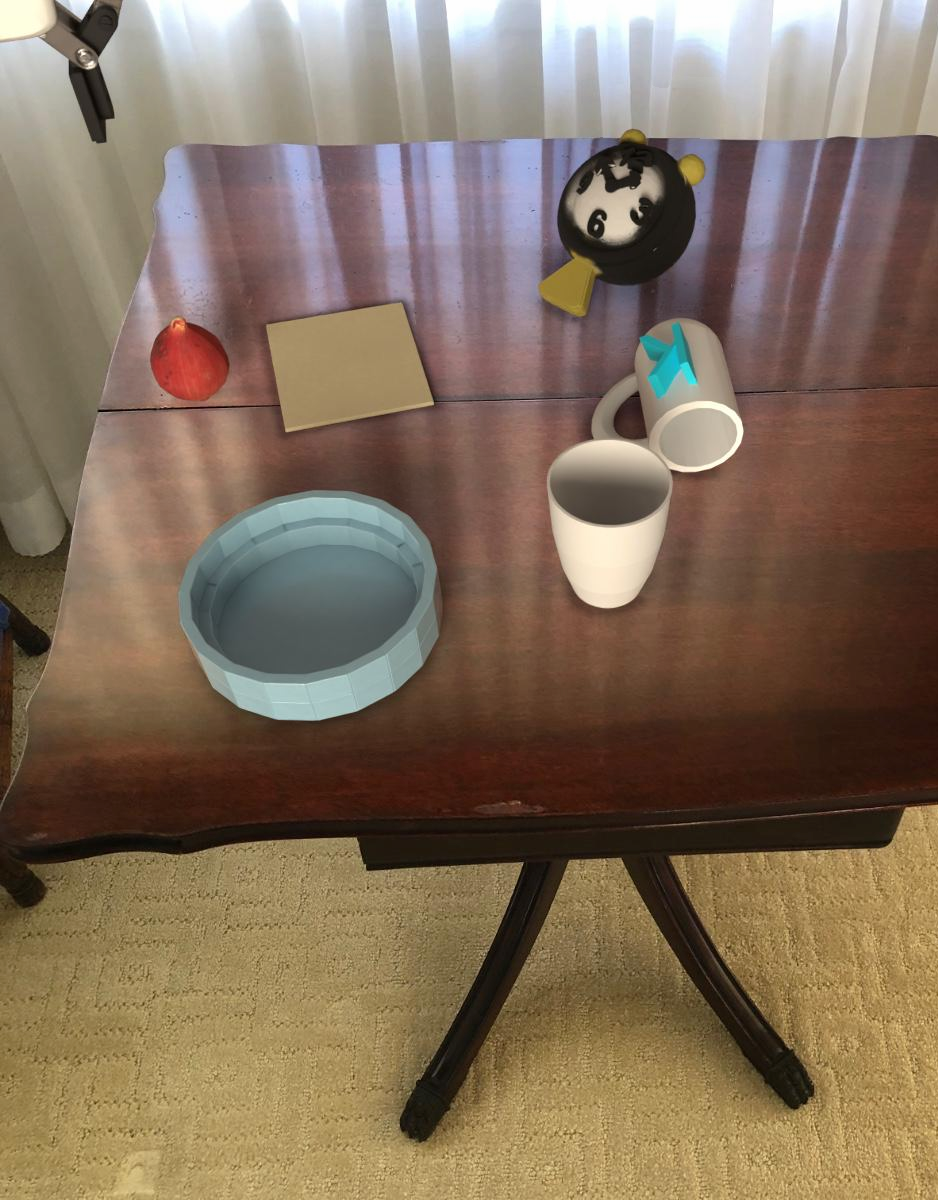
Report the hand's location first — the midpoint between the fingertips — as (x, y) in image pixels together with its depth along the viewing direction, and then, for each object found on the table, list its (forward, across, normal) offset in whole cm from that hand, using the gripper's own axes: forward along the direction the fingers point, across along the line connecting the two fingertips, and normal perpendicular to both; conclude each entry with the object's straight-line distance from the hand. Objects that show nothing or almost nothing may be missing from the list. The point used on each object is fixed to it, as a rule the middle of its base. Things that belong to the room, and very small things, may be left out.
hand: (9, 143), depth 61 cm
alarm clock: (+28, -42, -18) cm, 54 cm away
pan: (+28, -10, +15) cm, 33 cm away
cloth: (+28, -16, -12) cm, 35 cm away
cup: (+28, -30, +17) cm, 45 cm away
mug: (+28, -39, +2) cm, 48 cm away
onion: (+28, -4, -11) cm, 31 cm away
